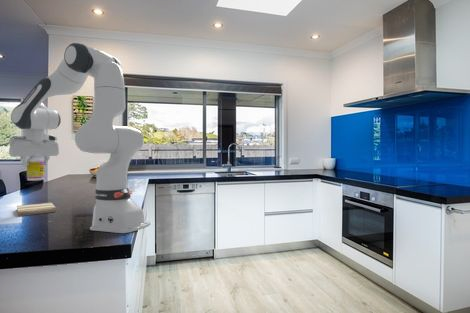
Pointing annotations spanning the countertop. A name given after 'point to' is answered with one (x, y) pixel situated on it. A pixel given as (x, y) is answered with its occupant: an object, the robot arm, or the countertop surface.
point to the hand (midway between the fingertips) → (35, 165)
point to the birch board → (35, 209)
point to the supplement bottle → (35, 168)
